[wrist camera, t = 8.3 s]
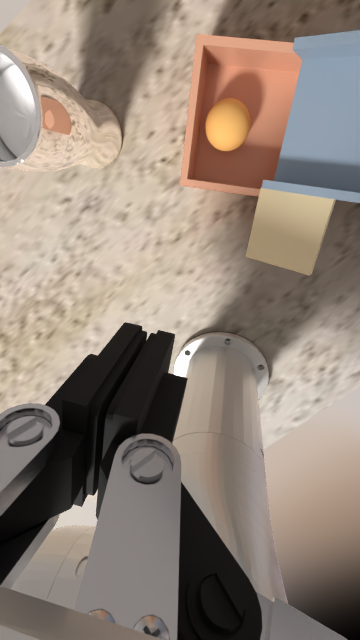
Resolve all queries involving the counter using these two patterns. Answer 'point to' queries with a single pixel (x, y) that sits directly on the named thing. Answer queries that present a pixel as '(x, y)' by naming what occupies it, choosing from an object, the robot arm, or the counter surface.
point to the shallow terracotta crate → (256, 94)
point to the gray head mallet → (312, 155)
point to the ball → (228, 124)
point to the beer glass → (50, 120)
